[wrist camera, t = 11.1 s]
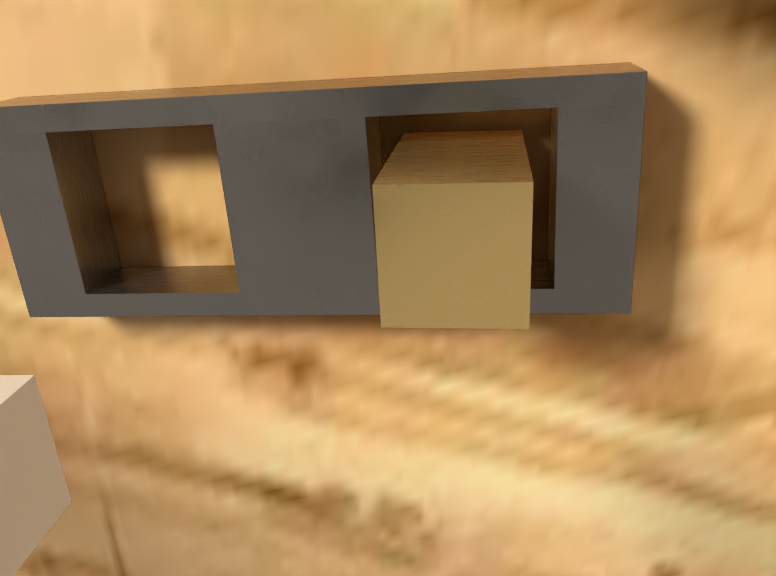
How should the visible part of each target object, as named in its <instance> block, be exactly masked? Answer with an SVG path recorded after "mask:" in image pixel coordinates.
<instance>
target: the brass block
mask: <svg viewBox="0 0 776 576" xmlns="http://www.w3.org/2000/svg"><path fill="white" fill-rule="evenodd" d="M372 188H373V205H374V221H375V237H376V254H377V270H378V287H379V303H380V319H381V327H388V328H470V329H529V323H530V288H531V252H532V216H533V178H532V173H531V169H530V164H529V160H528V155H527V151H526V146H525V141H524V137H523V132H522V130H491V131H455V132H418V133H404V134H403V135H402V137H401V139H400V140H399V142H398V143H397V145H396V147H395V148H394V150H393V152H392V153H391V155H390V157H389V158H388V160H387V162H386V163H385V165H384V166H383V168H382V170H381V171H380V173H379V175H378V176H377V178H376V180H375V181H374V183H373V185H372Z"/></svg>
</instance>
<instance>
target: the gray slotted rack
mask: <svg viewBox="0 0 776 576" xmlns="http://www.w3.org/2000/svg"><path fill="white" fill-rule="evenodd" d="M646 83H647V71H646V70H644V69H642V68H640V67H638V66H636V65H634V64H632V63H613V64H595V65H578V66H560V67H543V68H525V69H508V70H490V71H472V72H455V73H437V74H420V75H402V76H385V77H367V78H349V79H332V80H314V81H297V82H279V83H261V84H244V85H226V86H209V87H191V88H174V89H156V90H138V91H121V92H103V93H86V94H68V95H51V96H33V97H19V98H14V99H10V100H5V101H1V102H0V214H1V217H2V221H3V224H4V228H5V231H6V235H7V238H8V242H9V245H10V249H11V252H12V256H13V259H14V263H15V266H16V270H17V273H18V277H19V280H20V284H21V287H22V291H23V294H24V298H25V301H26V305H27V308H28V312H29V315H30V317H113V316H272V315H380V303H379V287H378V270H377V254H376V237H375V221H374V205H373V188H372V185H373V183H374V181H375V180H376V178H377V176H378V175H379V173H380V171H381V170H382V158H381V144H380V130H379V116H394V115H415V114H435V113H456V112H477V111H497V110H518V109H538V108H551V135H550V187H549V240H548V260H531V288H530V314H592V313H631V302H632V288H633V273H634V258H635V244H636V229H637V214H638V200H639V185H640V171H641V156H642V141H643V127H644V112H645V97H646ZM209 124H213V129H214V135H215V141H216V147H217V154H218V160H219V166H220V172H221V179H222V185H223V191H224V197H225V204H226V210H227V216H228V222H229V229H230V235H231V241H232V247H233V254H234V260H235V266H183V267H125V268H121V265H120V260H119V256H118V251H117V247H116V243H115V238H114V234H113V229H112V225H111V220H110V216H109V212H108V207H107V203H106V198H105V194H104V189H103V185H102V181H101V176H100V172H99V167H98V163H97V158H96V154H95V150H94V145H93V141H92V136H91V132H90V130H105V129H126V128H147V127H167V126H188V125H209Z"/></svg>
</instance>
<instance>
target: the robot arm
mask: <svg viewBox="0 0 776 576" xmlns="http://www.w3.org/2000/svg"><path fill="white" fill-rule="evenodd" d="M71 502H72V500H71V497H70V494H69V490H68V487H67V484H66V480H65V477H64V473H63V470H62V467H61V463H60V460H59V457H58V453H57V450H56V447H55V443H54V440H53V436H52V433H51V430H50V426H49V423H48V420H47V416H46V413H45V410H44V406H43V403H42V399H41V396H40V393H39V389H38V386H37V383H36V379H35V376H34V375H0V576H14V575H15V573H16V572H17V571H18V570H19V568H20V567H21V566H22V565H23V563H24V562H25V561H26V559H27V558H28V557H29V556H30V554H31V553H32V552H33V551H34V549H35V548H36V547H37V546H38V544H39V543H40V542H41V540H42V539H43V538H44V537H45V535H46V534H47V533H48V532H49V530H50V529H51V528H52V527H53V525H54V524H55V523H56V521H57V520H58V519H59V518H60V516H61V515H62V514H63V513H64V511H65V510H66V509H67V508H68V506H69V505H70V504H71Z"/></svg>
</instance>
